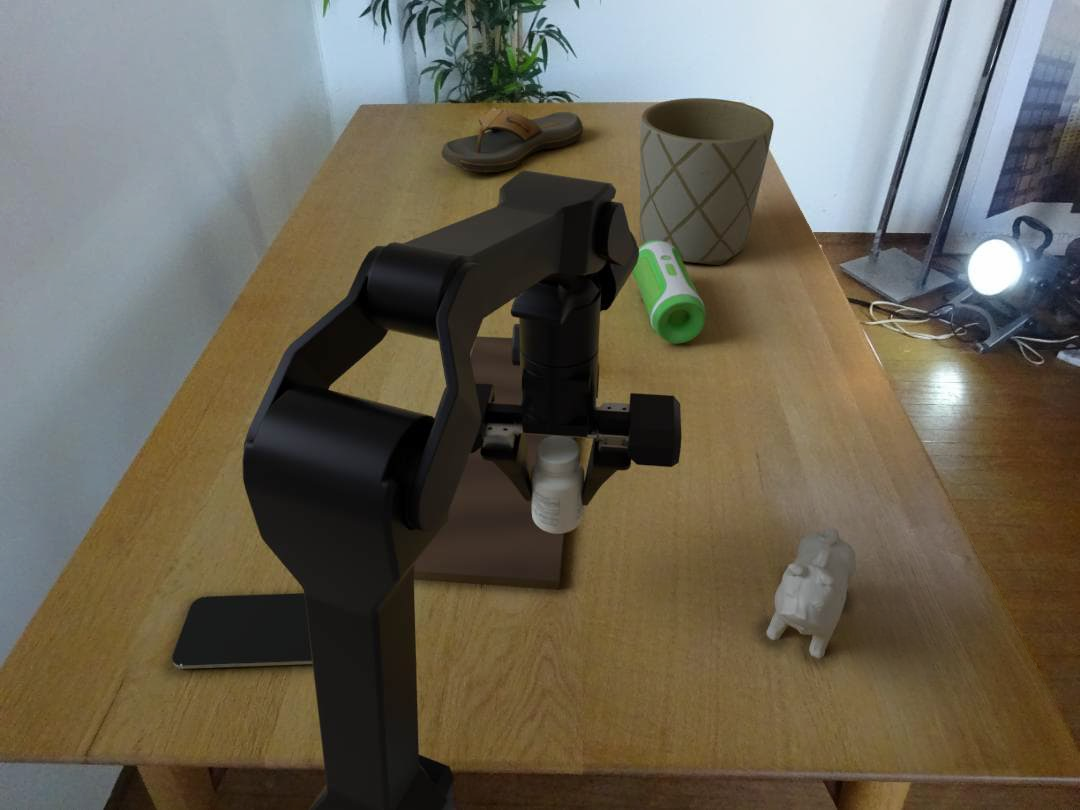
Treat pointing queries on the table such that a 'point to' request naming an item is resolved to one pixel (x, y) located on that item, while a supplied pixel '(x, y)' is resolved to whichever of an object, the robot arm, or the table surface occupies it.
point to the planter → (701, 175)
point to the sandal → (511, 139)
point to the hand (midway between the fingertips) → (557, 499)
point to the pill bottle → (557, 485)
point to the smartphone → (244, 632)
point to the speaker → (668, 292)
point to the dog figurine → (814, 589)
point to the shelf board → (493, 506)
